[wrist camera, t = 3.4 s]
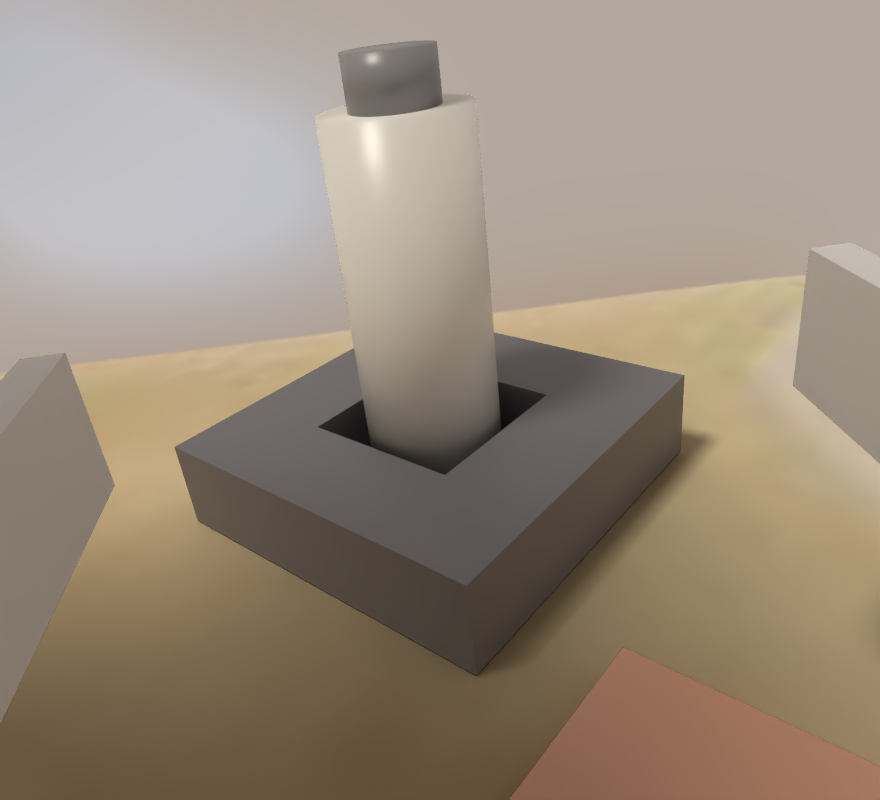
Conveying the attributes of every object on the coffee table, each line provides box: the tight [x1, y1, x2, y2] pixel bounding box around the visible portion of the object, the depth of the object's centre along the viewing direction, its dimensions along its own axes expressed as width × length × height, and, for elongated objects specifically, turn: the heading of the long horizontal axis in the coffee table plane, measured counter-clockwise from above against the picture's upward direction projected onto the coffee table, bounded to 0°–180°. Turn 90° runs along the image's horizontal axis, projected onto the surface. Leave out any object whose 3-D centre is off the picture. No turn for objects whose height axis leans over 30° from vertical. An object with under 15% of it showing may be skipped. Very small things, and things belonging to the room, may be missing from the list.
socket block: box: [175, 333, 684, 676], centre depth 26 cm, size 12×12×3 cm
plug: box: [314, 41, 501, 475], centre depth 24 cm, size 4×4×14 cm
